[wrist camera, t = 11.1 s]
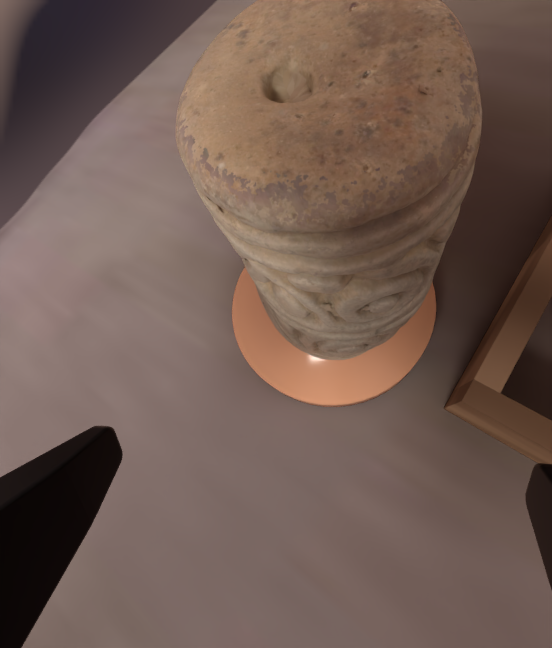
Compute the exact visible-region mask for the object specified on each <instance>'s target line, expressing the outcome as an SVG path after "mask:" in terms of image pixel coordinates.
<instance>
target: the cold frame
mask: <svg viewBox="0 0 552 648" xmlns="http://www.w3.org/2000/svg"><path fill="white" fill-rule="evenodd" d="M551 297H552V216H551V218H550V219H549V221H548V223H547V225H546V227H545V228H544V230H543V232H542V234H541V235H540V237H539V239H538V241H537V243H536V244H535V246H534V248H533V250H532V252H531V253H530V255H529V257H528V259H527V260H526V262H525V264H524V266H523V268H522V269H521V271H520V273H519V275H518V277H517V278H516V280H515V282H514V284H513V286H512V287H511V289H510V291H509V293H508V294H507V296H506V298H505V300H504V302H503V303H502V305H501V307H500V309H499V311H498V312H497V314H496V316H495V318H494V319H493V321H492V323H491V325H490V327H489V328H488V330H487V332H486V334H485V336H484V337H483V339H482V341H481V343H480V345H479V346H478V348H477V350H476V352H475V353H474V355H473V357H472V359H471V361H470V362H469V364H468V366H467V368H466V370H465V371H464V373H463V375H462V377H461V378H460V380H459V382H458V384H457V386H456V387H455V389H454V391H453V393H452V395H451V396H450V398H449V400H448V402H447V403H446V405H445V407H444V409H445V410H447V411H449V412H450V413H452V414H454V415H456V416H457V417H459V418H461V419H463V420H464V421H466V422H468V423H469V424H471V425H473V426H475V427H476V428H478V429H480V430H482V431H483V432H485V433H487V434H488V435H490V436H492V437H494V438H495V439H497V440H499V441H501V442H502V443H504V444H506V445H507V446H509V447H511V448H513V449H514V450H516V451H518V452H520V453H521V454H523V455H525V456H526V457H528V458H530V459H532V460H533V461H535V462H537V463H546V464H552V421H551V420H550V419H548V418H546V417H544V416H542V415H540V414H538V413H536V412H535V411H533V410H531V409H529V408H527V407H525V406H523V405H521V404H520V403H518V402H516V401H514V400H512V399H510V398H508V397H506V396H505V395H503V394H501V391H502V389H503V387H504V385H505V383H506V381H507V379H508V378H509V376H510V374H511V372H512V370H513V368H514V366H515V365H516V363H517V361H518V359H519V357H520V355H521V353H522V351H523V350H524V348H525V346H526V344H527V342H528V340H529V338H530V336H531V335H532V333H533V331H534V329H535V327H536V325H537V323H538V322H539V320H540V318H541V316H542V314H543V312H544V310H545V308H546V307H547V305H548V303H549V301H550V299H551Z"/></svg>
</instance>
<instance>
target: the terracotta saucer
mask: <svg viewBox="0 0 552 648" xmlns="http://www.w3.org/2000/svg"><path fill="white" fill-rule="evenodd" d="M435 318H436V297H435V290H434V286H433V282H432V284H431V287H430V289H429V291H428V293H427V295H426V297H425V299H424V301H423V303H422V305H421V306H420V308H419V309H418V310H417V312H416V313H415V314H414V315H413V317H411V318H410V319H409V321H408V322H407V323H406V324H405V325H404V326H402V327H401V328H399V330H398V331H397V332H396V334H395V335H394V336H393V337H391V338H390V339H389V340H387V341H386V342H384V343H383V344H381V345H379V346H376V347H374V348H373V349H371V350H368V351H366V352H365V353H363V354H361V355H359V356H356V357H354V358H351V359H346V360H327V359H320V358H316V357H313V356H311V355H309V354H307V353H305V352H303V351H301V350H300V349H298V348H296V347H295V346H293V345H292V344H291V343H290V342H289V341H287V340H286V339H285V338H284V337H283V336H282V335H281V334H280V332H279V331H278V330H277V329H276V328H275V326H274V325H273V323H272V321H271V320H270V318H269V316H268V314H267V313H266V311H265V308H264V306H263V304H262V302H261V299H260V297H259V294H258V292H257V288H256V285H255V283H254V281H253V280H252V278H251V277H250V275H249V274H248V272H247V270H246V268H245V267H244V269H243V271H242V273H241V275H240V277H239V280H238V283H237V285H236V289H235V293H234V297H233V306H232V322H233V327H234V333H235V336H236V339H237V343H238V345H239V347H240V349H241V352H242V354H243V356H244V357H245V359H246V360H247V362H248V363H249V365H250V366H251V367H252V368H253V369H254V371H255V372H256V373H257V374H258V375H259V376H260V377H261V378H262V379H264V380H265V381H266V382H267V383H268V384H270V385H271V386H272V387H274V388H275V389H277V390H278V391H280V392H282V393H283V394H285V395H286V396H289V397H291V398H293V399H295V400H297V401H300V402H304V403H307V404H310V405H316V406H322V407H342V406H351V405H355V404H359V403H363V402H366V401H368V400H371V399H374V398H376V397H378V396H380V395H382V394H383V393H385V392H387V391H389V390H390V389H391V388H393V387H394V386H395V385H397V384H398V383H399V382H400V381H401V380H402V379H403V378H404V377H405V376H406V375H407V374H408V373H409V372H410V370H411V369H412V368H413V366H414V365H415V364H416V362H417V361H418V360H419V358H420V357H421V356H422V354H423V352H424V350H425V348H426V346H427V345H428V342H429V340H430V337H431V334H432V332H433V327H434V323H435Z"/></svg>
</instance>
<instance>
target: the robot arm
mask: <svg viewBox="0 0 552 648" xmlns="http://www.w3.org/2000/svg"><path fill="white" fill-rule="evenodd" d="M122 455H123V454H122V449H121V446H120V444H119V441H118V438H117V436H116V433H115V431H114V429H113V428H112V427H109V426H94V427H92V428H90V429H88V430H86V431H84V432H82V433H81V434H79V435H77V436H75V437H73V438H72V439H70V440H68V441H66V442H64V443H62V444H61V445H59V446H57V447H55V448H53V449H51V450H50V451H48V452H46V453H44V454H42V455H40V456H39V457H37V458H35V459H33V460H31V461H29V462H28V463H26V464H24V465H22V466H20V467H18V468H17V469H15V470H13V471H11V472H9V473H7V474H6V475H4V476H2V477H0V648H21V647H22V646H23V644H24V642H25V641H26V639H27V637H28V635H29V634H30V632H31V630H32V628H33V627H34V625H35V623H36V621H37V620H38V618H39V616H40V614H41V613H42V611H43V609H44V607H45V606H46V604H47V602H48V600H49V599H50V597H51V595H52V593H53V592H54V590H55V588H56V586H57V585H58V583H59V581H60V579H61V578H62V576H63V574H64V572H65V571H66V569H67V567H68V565H69V564H70V562H71V560H72V559H73V557H74V555H75V553H76V552H77V550H78V548H79V546H80V545H81V543H82V541H83V539H84V538H85V536H86V534H87V532H88V530H89V529H90V527H91V525H92V523H93V521H94V519H95V517H96V515H97V513H98V511H99V509H100V506H101V504H102V502H103V500H104V498H105V496H106V493H107V491H108V489H109V487H110V485H111V483H112V480H113V478H114V476H115V474H116V472H117V470H118V468H119V465H120V463H121V460H122ZM526 505H527V509H528V512H529V516H530V519H531V522H532V526H533V529H534V533H535V536H536V539H537V543H538V546H539V549H540V553H541V556H542V560H543V563H544V566H545V570H546V573H547V577H548V580H549V583H550V586H551V589H552V464H546V463H538V464H536V465H535V466H534V468H533V471H532V474H531V478H530V481H529V484H528V487H527V491H526Z"/></svg>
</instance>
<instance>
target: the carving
mask: <svg viewBox="0 0 552 648" xmlns="http://www.w3.org/2000/svg"><path fill="white" fill-rule="evenodd" d="M481 127H482V106H481V98H480V91H479V86H478V72H477V67H476V64H475V60H474V56H473V52H472V48H471V46H470V44H469V41H468V39H467V36H466V34H465V32H464V30H463V28H462V26H461V24H460V22H459V21H458V20H457V18H456V17H455V15H454V14H453V13H452V11H451V10H450V9H449V8H448V7H447V6H446V5H445V4H444V3H443V2H442V1H441V0H258V1H256V2H255V3H253V4H252V5H250V6H249V7H248V8H246V9H245V10H244V11H243V12H242V13H240V14H239V15H238V16H237V17H236V18H234V19H233V20H232V21H231V22H230V23H229V24H228V25H227V26H226V27H225V28H224V29H223V30H222V31H221V32H220V34H219V35H218V36H217V37H216V38H215V39H214V40H213V42H212V43H211V44H210V45H209V46H208V48H207V49H206V50H205V51H204V53H203V54H202V55H201V57H200V58H199V60H198V61H197V63H196V64H195V66H194V68H193V70H192V72H191V74H190V76H189V78H188V80H187V82H186V85H185V87H184V90H183V92H182V95H181V98H180V101H179V106H178V111H177V120H176V142H177V147H178V150H179V153H180V156H181V159H182V161H183V163H184V165H185V167H186V169H187V171H188V173H189V175H190V176H191V178H192V180H193V183H194V185H195V188H196V190H197V192H198V194H199V196H200V197H201V199H202V201H203V203H204V204H205V206H206V207H207V209H208V210H209V211H210V213H211V215H212V217H213V219H214V221H215V222H216V224H217V225H218V227H219V228H220V229H221V231H222V232H223V233H224V235H225V236H226V237H227V239H228V240H229V242H230V244H231V245H232V247H233V248H234V250H235V251H236V252H237V253H238V255H239V256H240V257H241V258H242V259H243V263H244V265H245V268H246V270H247V272H248V274H249V275H250V277H251V278H252V280H253V281H254V283H255V285H256V288H257V292H258V294H259V297H260V299H261V302H262V304H263V306H264V308H265V311H266V313H267V314H268V316H269V318H270V320H271V321H272V323H273V325H274V326H275V328H276V329H277V330H278V331H279V332H280V334H281V335H282V336H283V337H284V338H285V339H286V340H287V341H289V342H290V343H291V344H292V345H293V346H295V347H296V348H298V349H300V350H301V351H303V352H305V353H307V354H309V355H311V356H313V357H316V358H320V359H327V360H346V359H351V358H354V357H356V356H359V355H361V354H363V353H365V352H366V351H368V350H371V349H373V348H374V347H376V346H379V345H381V344H383V343H384V342H386V341H387V340H389V339H390V338H391V337H393V336H394V335H395V334H396V332H397V331H398V330H399V328H401V327H402V326H404V325H405V324H406V323H407V322H408V321H409V319H410V318H411V317H413V315H414V314H415V313H416V312H417V310H418V309H419V308H420V306H421V305H422V303H423V301H424V299H425V297H426V295H427V293H428V291H429V289H430V287H431V284H432V281H433V277H434V274H435V271H436V269H437V266H438V264H439V261H440V258H441V256H442V253H443V250H444V247H445V244H446V241H447V240H448V239H449V237H450V235H451V233H452V231H453V228H454V226H455V223H456V220H457V217H458V215H459V211H460V207H461V203H462V201H463V199H464V197H465V195H466V192H467V190H468V187H469V185H470V182H471V178H472V175H473V171H474V167H475V159H476V156H477V153H478V150H479V145H480V138H481Z"/></svg>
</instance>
